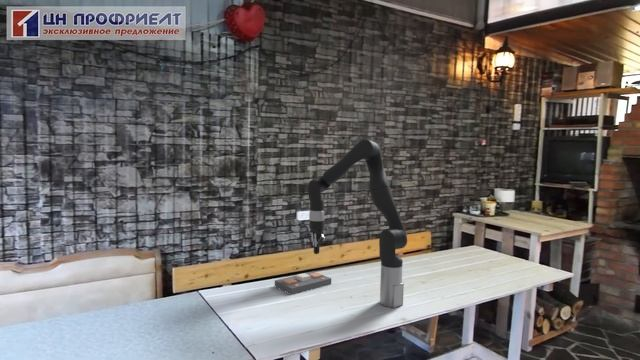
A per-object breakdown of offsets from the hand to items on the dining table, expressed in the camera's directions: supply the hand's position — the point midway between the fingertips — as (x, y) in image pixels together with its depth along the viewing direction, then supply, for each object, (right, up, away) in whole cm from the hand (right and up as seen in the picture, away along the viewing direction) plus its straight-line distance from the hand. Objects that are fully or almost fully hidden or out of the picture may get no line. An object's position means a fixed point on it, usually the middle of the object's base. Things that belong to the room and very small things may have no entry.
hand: (316, 253), depth 205 cm
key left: (-13, -14, -9) cm, 21 cm away
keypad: (-6, -15, -4) cm, 17 cm away
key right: (0, -14, +1) cm, 14 cm away
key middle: (-6, -13, -4) cm, 15 cm away
